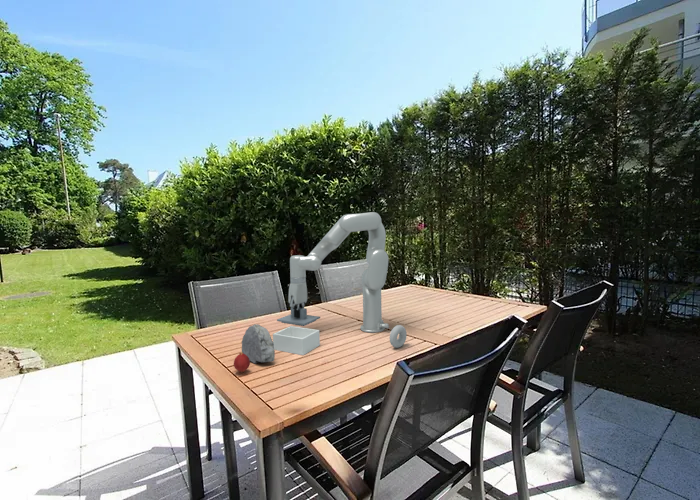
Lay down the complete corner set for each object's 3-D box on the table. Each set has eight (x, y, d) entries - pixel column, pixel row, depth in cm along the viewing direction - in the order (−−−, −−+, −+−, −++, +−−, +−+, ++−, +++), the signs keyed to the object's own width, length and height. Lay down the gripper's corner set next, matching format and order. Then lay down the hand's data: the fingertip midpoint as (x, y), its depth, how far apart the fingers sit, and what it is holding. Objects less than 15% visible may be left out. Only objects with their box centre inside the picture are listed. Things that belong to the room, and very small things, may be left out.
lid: (320, 320, 176) (320, 307, 175) (304, 327, 164) (304, 313, 163) (293, 316, 183) (293, 303, 183) (277, 323, 171) (276, 309, 171)
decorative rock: (240, 358, 144) (238, 323, 142) (254, 353, 149) (252, 319, 147) (263, 368, 133) (262, 330, 132) (277, 363, 138) (276, 326, 137)
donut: (394, 351, 148) (393, 328, 147) (387, 349, 151) (387, 327, 150) (408, 345, 155) (408, 323, 154) (402, 343, 157) (402, 322, 157)
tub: (319, 345, 157) (319, 330, 157) (303, 355, 146) (302, 339, 145) (291, 340, 165) (291, 325, 164) (273, 349, 153) (272, 333, 153)
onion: (236, 369, 133) (235, 349, 132) (251, 368, 133) (250, 348, 133) (232, 376, 127) (231, 355, 126) (248, 375, 128) (247, 354, 127)
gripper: (301, 277, 181) (302, 312, 182) (281, 282, 166) (282, 320, 168) (313, 278, 177) (314, 313, 179) (294, 283, 163) (295, 321, 164)
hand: (298, 316), depth 173 cm, fingers closed on lid, 2 cm apart
